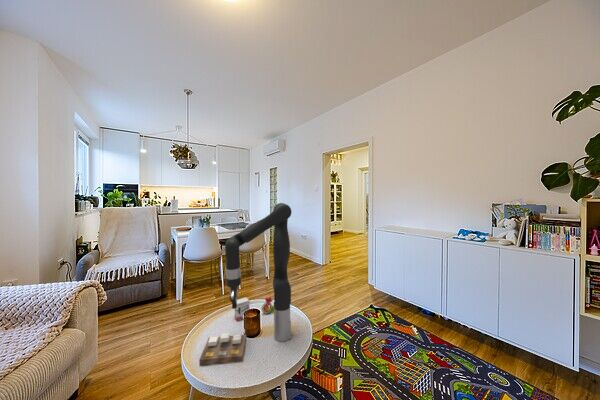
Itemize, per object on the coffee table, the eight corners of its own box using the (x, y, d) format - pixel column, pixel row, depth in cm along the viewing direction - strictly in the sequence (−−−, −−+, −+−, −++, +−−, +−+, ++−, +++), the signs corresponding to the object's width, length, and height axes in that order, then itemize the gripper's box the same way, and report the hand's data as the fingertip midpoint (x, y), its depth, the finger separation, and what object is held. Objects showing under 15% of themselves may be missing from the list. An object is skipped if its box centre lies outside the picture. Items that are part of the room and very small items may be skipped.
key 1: (218, 340, 120) (218, 336, 119) (216, 345, 116) (216, 341, 115) (210, 340, 119) (210, 337, 119) (208, 346, 115) (208, 342, 115)
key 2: (241, 338, 121) (241, 334, 121) (240, 343, 117) (240, 339, 117) (233, 338, 121) (233, 335, 120) (232, 343, 117) (232, 340, 116)
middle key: (229, 336, 120) (229, 332, 120) (228, 341, 116) (228, 337, 116) (222, 337, 120) (222, 333, 120) (220, 342, 116) (220, 338, 116)
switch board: (246, 339, 125) (246, 333, 125) (242, 361, 110) (242, 355, 109) (208, 343, 123) (208, 337, 123) (199, 366, 107) (199, 359, 107)
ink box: (237, 321, 142) (236, 303, 142) (234, 318, 146) (234, 300, 146) (250, 317, 147) (249, 299, 146) (247, 314, 151) (246, 296, 150)
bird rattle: (267, 319, 148) (278, 310, 152) (260, 306, 145) (272, 297, 149) (264, 315, 153) (275, 306, 157) (257, 302, 151) (268, 293, 155)
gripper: (239, 280, 113) (240, 314, 114) (242, 270, 126) (243, 301, 127) (223, 281, 112) (224, 315, 113) (228, 271, 125) (229, 302, 126)
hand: (234, 307), depth 120 cm, fingers closed
